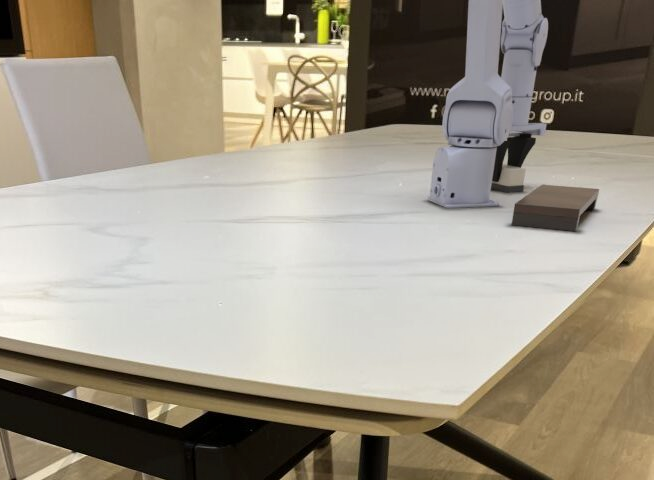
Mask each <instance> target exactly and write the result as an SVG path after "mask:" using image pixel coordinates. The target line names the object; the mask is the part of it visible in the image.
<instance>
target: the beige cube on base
mask: <svg viewBox="0 0 654 480" xmlns="http://www.w3.org/2000/svg"><path fill="white" fill-rule="evenodd" d="M525 176H526V167H521V168H520V167H515V166H510V165H507V164H504V163H503V165H502V171H501V175H500V179H499V182H494V181H492V185H491V190H495V191H500V192H503V193H521V192H524V188H525V185H524V181H525Z"/></svg>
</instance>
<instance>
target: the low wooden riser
mask: <svg viewBox="0 0 654 480" xmlns="http://www.w3.org/2000/svg"><path fill="white" fill-rule="evenodd" d="M599 193H600V189H599V188H589V187H579V186H567V185H566V186H565V185H554V184H553V185H551V184H541V185H539V186H538V187H537V188H534V190H533V191H531V192H529V193H528V194H526V195H525V196H524V197H522V198H520V200H519V199H518V201H516V202H515V203H514V206H513V213H512V219H511V226H516V227H527V228H535V229H536V228H537V229H546V230H555V231H566V232H576V231H578V228H579V223H580V217H581V216H582V215H583V213H584V212H585V211H595V209H596V207H597V201H598V197H599Z"/></svg>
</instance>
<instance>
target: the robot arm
mask: <svg viewBox="0 0 654 480" xmlns="http://www.w3.org/2000/svg"><path fill="white" fill-rule="evenodd" d="M503 16H504V17H503ZM502 19H503V20H502ZM466 27H467V29H466V49H465V50H466V51H465V71H464V77H462V79H460V80H459V81H458V82H456V83H455V84H454V85H453V86H452V87H451V88H450V89H449V91H448V92H447V94H446V97H445V107H444V111H443V115H442V125H441V127H442V134H443V136H444V138H445V139H446V141H447V145H449V146H442V147H439V148H438V149H437V150H436V152H435V154H434V158H433V163H432V172H431V180H430V192H429V197H427V201H428V202H431V203H433V204H436V205H439V206H440V207H443V208H445V209H459V208H461V209H462V208H463V209H465V208H483V207H484V208H487V207H499V206H500V203H499V202H498V201H495V200H492V199H490V198H491V191H492V189H491V185H492V181H494V182H499V179H500V175H501V171H502V165H503V164H504V161H505V157H506V154H507V163H506V165H510V166H515V167H520V168H522V166H523V165H524V162H525V160H526V158H527V157H528V155H529V153H530V151H532V148H533V147H534V146H535V145H536V140H537V138H536V137H533V136H539V137H540V136H541V137H542V136H545V135H546V130H547V125H548V124H547V123H543V122H529V120H530V113H531V108H532V101H533V94H534V91H535V89H534V88H535V83H536V76H537V70H538V67H539V66H541V62H542V56H543V53H544V49H545V47H546V44H547V39H548V34H549V33H548V31H549V21H548V18H547V17H544V15H543V14H542V1H541V0H468V7H467V26H466ZM500 49H501V53H502V54H504V55H503V62H502V68H501V75H499V61H500Z"/></svg>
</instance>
